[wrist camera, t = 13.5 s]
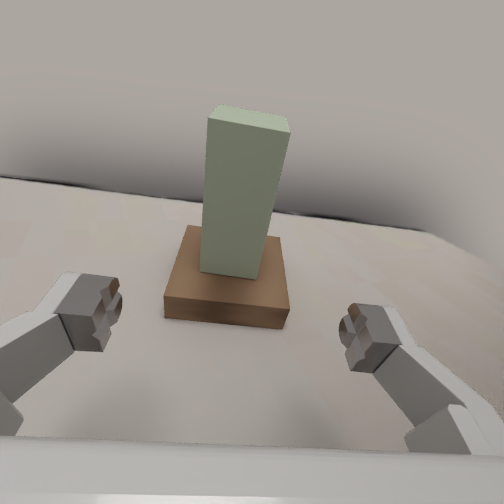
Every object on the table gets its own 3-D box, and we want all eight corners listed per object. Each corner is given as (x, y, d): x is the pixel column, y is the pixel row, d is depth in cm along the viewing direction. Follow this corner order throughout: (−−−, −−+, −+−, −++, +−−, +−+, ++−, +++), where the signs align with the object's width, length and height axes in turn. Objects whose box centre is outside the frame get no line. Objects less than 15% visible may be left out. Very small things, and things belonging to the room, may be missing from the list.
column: (257, 246, 25) (285, 116, 18) (256, 279, 21) (290, 132, 14) (209, 238, 24) (219, 104, 18) (199, 271, 21) (207, 117, 14)
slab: (273, 260, 28) (279, 237, 26) (280, 333, 21) (290, 309, 19) (187, 249, 27) (187, 224, 26) (165, 322, 20) (163, 295, 18)
